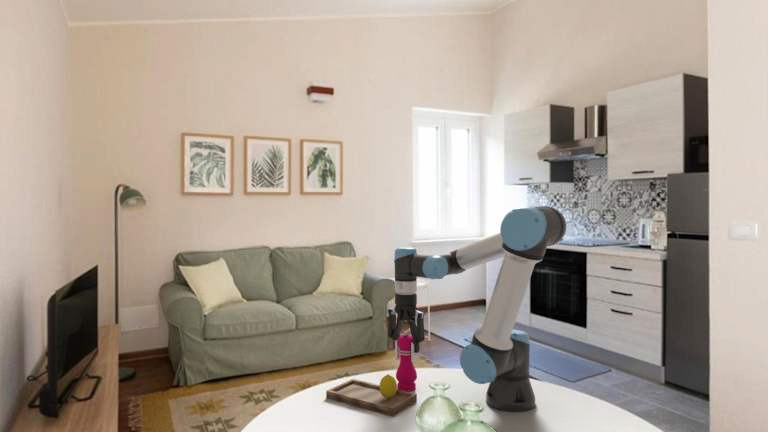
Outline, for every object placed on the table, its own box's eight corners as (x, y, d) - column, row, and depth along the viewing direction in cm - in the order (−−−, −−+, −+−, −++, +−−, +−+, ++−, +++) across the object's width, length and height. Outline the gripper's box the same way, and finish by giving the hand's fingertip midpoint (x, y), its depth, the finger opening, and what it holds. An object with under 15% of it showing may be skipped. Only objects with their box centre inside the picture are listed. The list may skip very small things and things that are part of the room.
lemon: (384, 404, 157) (383, 378, 157) (377, 398, 162) (376, 373, 162) (400, 401, 160) (399, 375, 159) (392, 395, 165) (392, 370, 164)
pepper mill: (417, 392, 171) (416, 333, 171) (396, 392, 171) (395, 333, 171) (416, 385, 178) (416, 328, 178) (395, 385, 178) (395, 328, 178)
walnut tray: (416, 401, 163) (416, 394, 163) (392, 416, 152) (392, 408, 151) (353, 385, 178) (352, 378, 178) (326, 398, 166) (326, 390, 166)
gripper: (376, 291, 176) (377, 358, 177) (424, 297, 166) (424, 367, 166) (389, 288, 183) (389, 353, 183) (435, 293, 172) (435, 362, 172)
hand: (406, 360), depth 175 cm, fingers closed on pepper mill, 6 cm apart
